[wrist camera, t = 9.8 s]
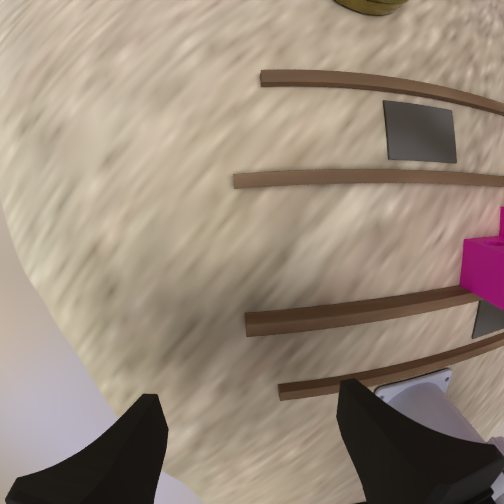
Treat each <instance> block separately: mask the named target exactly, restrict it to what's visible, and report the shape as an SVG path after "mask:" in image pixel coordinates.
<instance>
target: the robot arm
mask: <svg viewBox="0 0 504 504" xmlns="http://www.w3.org/2000/svg"><path fill="white" fill-rule="evenodd" d="M451 375H452V370H451V369H445V370H442V371H439V372H435V373H432V374H429V375H425V376H422V377H418V378H415V379H411V380H407V381H403V382H400V383H396V384H392V385H387V386H383V387H380V388H378V389H377V390H376V392H375V394H374V393H373V392H371V391H370V390H369V389H368V388H367V387H365V386H364V385H363V384H362V383H360V382H359V381H358V380H357V379H355V378H352V379H346V380H341V381H340V389H339V398H338V407H337V415H336V417H337V421H338V425H339V429H340V432H341V436H342V438H343V441H344V443H345V445H346V448H347V450H348V452H349V455H350V457H351V459H352V461H353V464H354V466H355V468H356V471H357V473H358V475H359V478H360V480H361V483H362V486H363V490H364V493H365V497H366V500H367V504H504V438H503V437H496V438H495V437H491V438H490V439H489V441H488V442H485V441H484V440H483V439H482V438H481V436H480V435H479V434H478V433H477V431H476V430H475V429H474V428H473V427H472V425H471V424H470V423H469V422H468V421H467V419H466V418H465V417H464V416H463V415H462V413H461V412H460V411H459V410H458V409H457V407H456V406H455V405H454V404H453V403H452V402H451V400H450V399H449V398H448V397H447V396H446V395H445V394H446V391H447V388H448V385H449V382H450V379H451ZM380 396H381V397H380ZM379 397H380V398H379ZM168 430H169V429H168V426H167V423H166V420H165V417H164V414H163V410H162V407H161V404H160V401H159V398H158V394H143V395H142V396H141V397H140V398H139V399H138V400H137V401H136V402H135V403H134V404H133V405H132V406H131V407H130V408H129V409H128V410H127V411H126V412H125V413H124V414H123V415H122V416H121V417H120V418H119V419H118V420H117V421H116V422H115V423H114V424H113V425H112V426H111V427H110V428H109V429H108V430H107V431H106V432H104V433H103V434H102V435H101V436H100V437H99V438H97V439H96V440H95V441H94V442H92V443H91V444H90V445H88V446H87V447H85V448H84V449H83V450H81V451H80V452H78V453H76V454H75V455H73V456H71V457H69V458H68V459H66V460H64V461H62V462H60V463H58V464H56V465H54V466H52V467H49V468H47V469H44V470H42V471H39V472H36V473H33V474H29V475H26V476H22V477H18V478H17V479H16V480H15V482H14V484H13V486H12V487H11V489H10V491H9V493H8V495H7V497H6V498H5V502H6V504H154V497H155V492H156V488H157V484H158V480H159V476H160V472H161V468H162V465H163V461H164V457H165V453H166V448H167V440H168Z"/></svg>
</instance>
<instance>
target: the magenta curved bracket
mask: <svg viewBox="0 0 504 504" xmlns="http://www.w3.org/2000/svg"><path fill="white" fill-rule="evenodd" d="M459 285H460V286H462V287H464V288H465V289H467V290H469V291H471V292H472V293H474V294H476V295H478V296H479V297H481V298H483V299H485V300H486V301H488V302H490V303H492V304H493V305H495V306H497V307H498V308H500V309H502V310H503V311H504V207H501V214H500V233H499V236H492V237H482V238H471V239H464V245H463V257H462V268H461V276H460V284H459Z"/></svg>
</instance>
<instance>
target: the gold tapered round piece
mask: <svg viewBox="0 0 504 504" xmlns="http://www.w3.org/2000/svg"><path fill="white" fill-rule="evenodd" d="M336 1H337V2H339V3H340V4H342V5H344V6H346V7H348V8H350V9H353V10H355V11H358V12H361V13H365V14H371V15H385V14H390V13H392V12H394V11H396V10H397V9H398V8H399V7H400V6H401V5H402V4H403V3H406V2H407V1H408V0H336Z"/></svg>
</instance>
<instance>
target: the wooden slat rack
mask: <svg viewBox="0 0 504 504" xmlns="http://www.w3.org/2000/svg"><path fill="white" fill-rule="evenodd" d="M260 80H261V87H274V86H312V87H337V88H353V89H365V90H375V91H384V92H393V93H400V94H407V95H414V96H420V97H426V98H432V99H437V100H442V101H447V102H452V103H456V104H461V105H465V106H469V107H474V108H477V109H481V110H485V111H489V112H492V113H496V114H499V115H503V116H504V104H503V103H500V102H497V101H494V100H491V99H488V98H484V97H481V96H478V95H474V94H471V93H467V92H463V91H459V90H455V89H451V88H447V87H443V86H438V85H433V84H429V83H423V82H418V81H413V80H407V79H401V78H394V77H387V76H380V75H372V74H363V73H352V72H340V71H324V70H261V74H260ZM383 106H384V114H385V124H386V135H387V147H388V159H392V160H415V161H432V162H446V163H457V158H456V144H455V133H454V123H453V115H452V110H447V109H442V108H436V107H430V106H424V105H418V104H411V103H403V102H395V101H386V100H384V101H383ZM233 176H234V189H240V188H254V187H270V186H287V185H309V184H338V183H437V184H464V185H483V186H499V187H504V176H495V175H485V174H473V173H460V172H444V171H424V170H393V169H328V170H295V171H274V172H257V173H243V174H233ZM479 300H480V301H479ZM475 301H479V306H478V311H477V316H476V321H475V325H474V330H473V334H472V339H474V338H477V337H480V336H483V335H486V334H489V333H492V332H495V331H498V330H500V329H503V328H504V311H503V310H502V309H500V308H498V307H497V306H495V305H493V304H492V303H490V302H488V301H486V300H485V299H483V298H481V297H479V296H478V295H476V294H474V293H472V292H471V291H469V290H467V289H465V288H464V287H462V286H460V285H459V286H454V287H448V288H442V289H437V290H431V291H425V292H419V293H413V294H406V295H400V296H393V297H386V298H379V299H372V300H365V301H357V302H350V303H342V304H333V305H325V306H316V307H307V308H297V309H287V310H276V311H265V312H253V313H245V325H246V337H252V336H264V335H275V334H285V333H295V332H304V331H312V330H321V329H328V328H336V327H343V326H350V325H357V324H364V323H370V322H376V321H382V320H388V319H394V318H399V317H405V316H410V315H416V314H421V313H426V312H431V311H436V310H440V309H445V308H450V307H454V306H458V305H463V304H467V303H471V302H475ZM503 345H504V333H502V334H499V335H496V336H493V337H491V338H488V339H485V340H482V341H479V342H476V343H473V344H470V345H467V346H464V347H461V348H458V349H454V350H451V351H448V352H444V353H441V354H437V355H434V356H430V357H427V358H423V359H419V360H415V361H411V362H407V363H403V364H399V365H394V366H390V367H386V368H381V369H376V370H371V371H366V372H361V373H356V374H350V375H345V376H339V377H333V378H326V379H320V380H313V381H305V382H297V383H289V384H280V385H278V389H279V397H280V401H282V400H291V399H299V398H307V397H314V396H320V395H327V394H333V393H339V389H340V381H341V380H346V379H352V378H355V379H357V380H358V381H359V382H360V383H362V384H363V385H364V386H365V387H370V386H374V385H379V384H383V383H387V382H392V381H396V380H400V379H404V378H407V377H411V376H415V375H419V374H422V373H426V372H429V371H432V370H436V369H439V368H442V367H446V366H449V365H452V364H455V363H458V362H461V361H464V360H467V359H469V358H472V357H475V356H478V355H480V354H483V353H486V352H488V351H491V350H493V349H496V348H498V347H501V346H503Z"/></svg>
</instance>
